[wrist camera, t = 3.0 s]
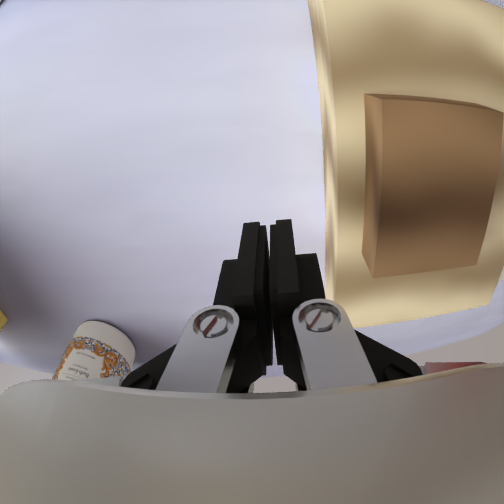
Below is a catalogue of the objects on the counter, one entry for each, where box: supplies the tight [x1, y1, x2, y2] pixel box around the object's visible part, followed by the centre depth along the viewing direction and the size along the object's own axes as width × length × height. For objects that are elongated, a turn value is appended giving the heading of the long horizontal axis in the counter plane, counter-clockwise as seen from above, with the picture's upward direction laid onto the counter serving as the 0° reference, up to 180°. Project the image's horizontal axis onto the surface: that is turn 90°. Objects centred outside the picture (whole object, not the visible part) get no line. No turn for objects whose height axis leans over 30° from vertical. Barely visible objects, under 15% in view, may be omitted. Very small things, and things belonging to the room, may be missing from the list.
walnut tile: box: [362, 94, 504, 278], centre depth 14 cm, size 9×7×2 cm
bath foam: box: [52, 321, 135, 381], centre depth 21 cm, size 7×7×20 cm
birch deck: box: [308, 0, 504, 328], centre depth 16 cm, size 22×14×4 cm, turn 7°
